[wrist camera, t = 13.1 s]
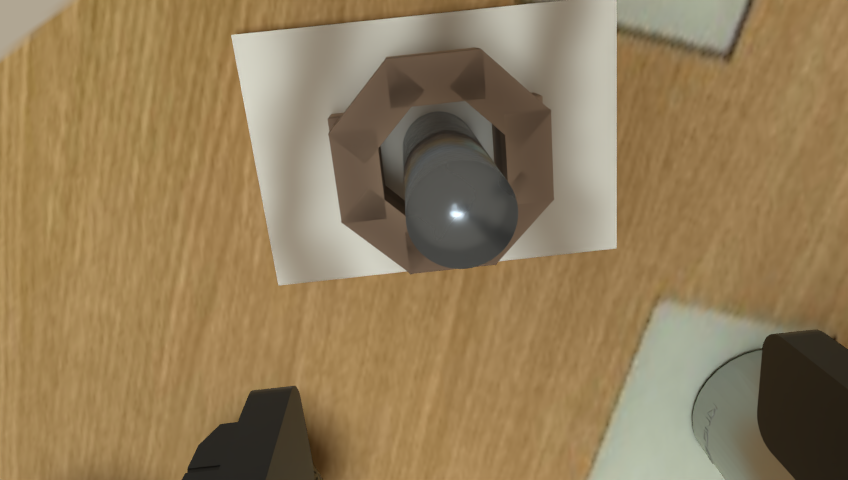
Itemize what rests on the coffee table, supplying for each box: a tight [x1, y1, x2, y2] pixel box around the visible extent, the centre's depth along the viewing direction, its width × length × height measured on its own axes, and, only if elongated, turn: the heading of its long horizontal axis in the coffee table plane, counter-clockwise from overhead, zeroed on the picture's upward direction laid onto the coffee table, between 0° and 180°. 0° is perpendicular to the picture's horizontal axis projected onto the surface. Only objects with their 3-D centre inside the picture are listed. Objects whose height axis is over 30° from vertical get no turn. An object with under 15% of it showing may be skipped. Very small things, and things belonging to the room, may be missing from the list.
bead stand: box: [231, 0, 617, 285], centre depth 32 cm, size 20×14×6 cm
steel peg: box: [403, 111, 518, 269], centre depth 28 cm, size 4×4×13 cm
